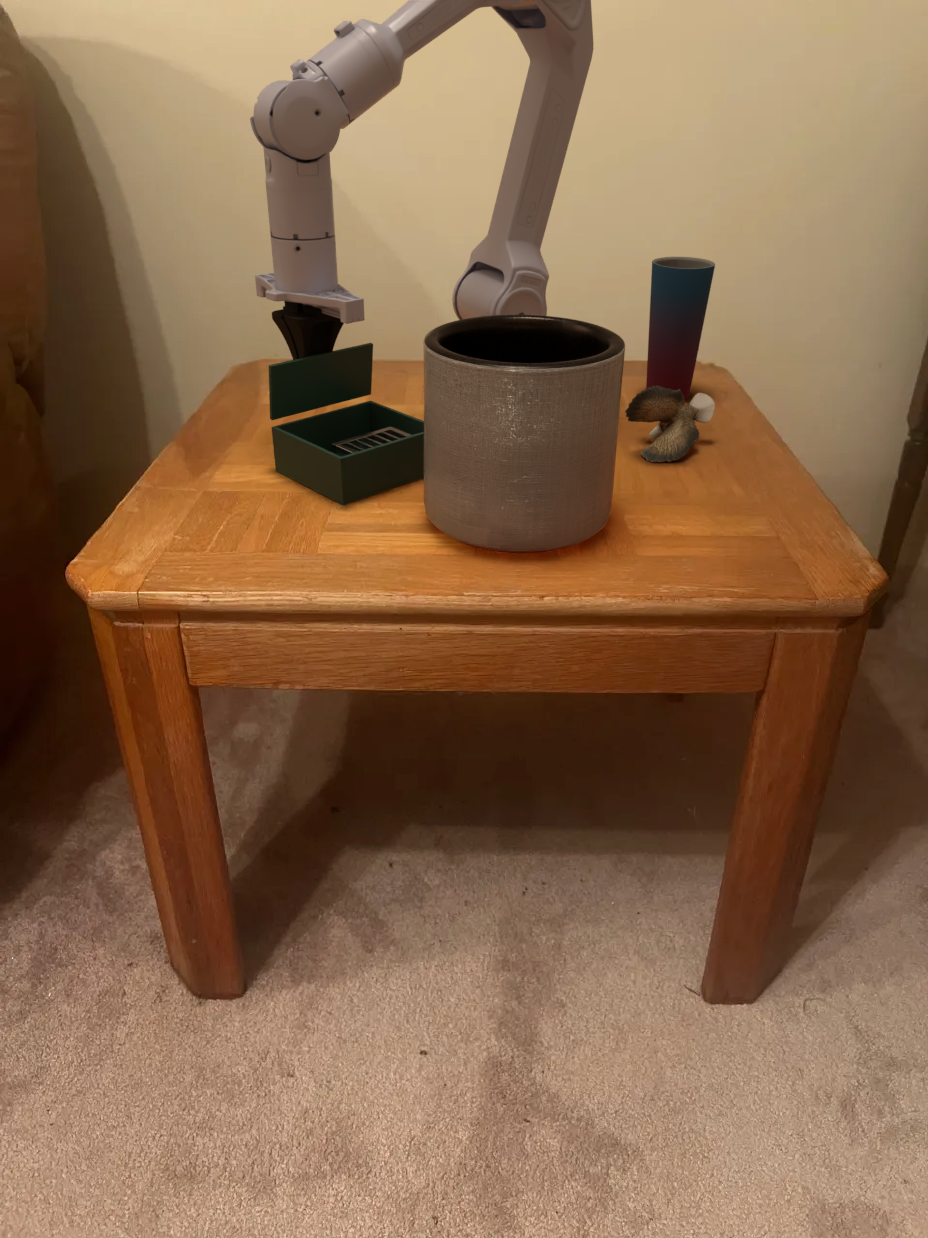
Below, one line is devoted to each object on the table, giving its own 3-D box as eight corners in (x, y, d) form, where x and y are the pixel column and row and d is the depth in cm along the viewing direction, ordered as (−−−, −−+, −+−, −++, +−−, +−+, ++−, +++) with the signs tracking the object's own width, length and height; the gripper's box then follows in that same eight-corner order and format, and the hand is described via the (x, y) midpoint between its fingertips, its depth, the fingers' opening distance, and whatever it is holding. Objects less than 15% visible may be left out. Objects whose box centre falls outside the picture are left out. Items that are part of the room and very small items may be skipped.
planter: (422, 483, 88) (419, 313, 80) (592, 480, 89) (606, 312, 81) (426, 563, 75) (423, 367, 66) (627, 559, 75) (648, 365, 67)
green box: (275, 470, 91) (271, 426, 88) (372, 441, 97) (370, 400, 95) (343, 505, 84) (340, 458, 82) (442, 471, 91) (442, 427, 88)
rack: (391, 457, 93) (390, 426, 91) (422, 470, 90) (422, 438, 88) (334, 475, 89) (331, 443, 87) (364, 490, 86) (362, 457, 84)
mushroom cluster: (634, 415, 102) (605, 424, 94) (680, 363, 98) (653, 369, 90) (685, 464, 101) (659, 478, 93) (732, 414, 97) (710, 424, 89)
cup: (701, 405, 108) (721, 268, 101) (642, 404, 109) (657, 267, 101) (690, 387, 114) (708, 256, 107) (634, 386, 114) (647, 256, 107)
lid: (272, 420, 88) (269, 418, 88) (371, 394, 95) (368, 393, 95) (270, 366, 85) (268, 364, 85) (373, 343, 92) (370, 342, 92)
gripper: (221, 229, 86) (238, 376, 93) (313, 251, 77) (324, 412, 84) (286, 221, 90) (297, 362, 98) (380, 241, 81) (385, 396, 88)
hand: (314, 385), depth 91 cm, fingers closed
